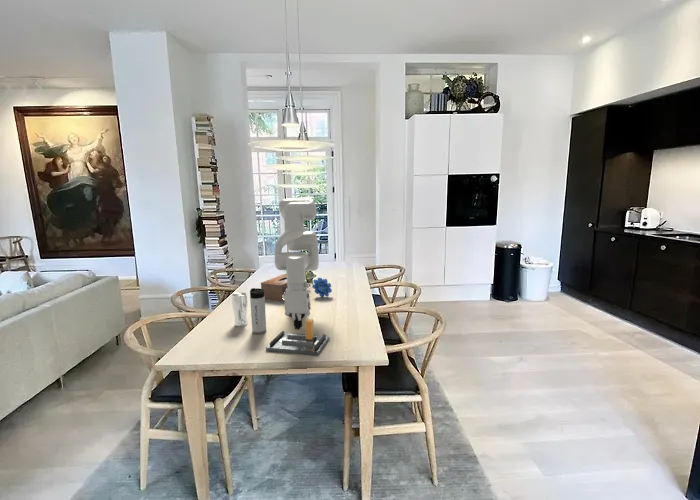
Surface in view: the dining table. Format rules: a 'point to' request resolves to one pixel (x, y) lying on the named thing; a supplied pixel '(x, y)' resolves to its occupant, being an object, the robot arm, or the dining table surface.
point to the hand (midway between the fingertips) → (298, 328)
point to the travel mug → (258, 311)
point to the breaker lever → (309, 330)
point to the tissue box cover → (275, 287)
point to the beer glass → (240, 308)
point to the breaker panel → (297, 344)
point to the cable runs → (284, 332)
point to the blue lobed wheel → (322, 287)
